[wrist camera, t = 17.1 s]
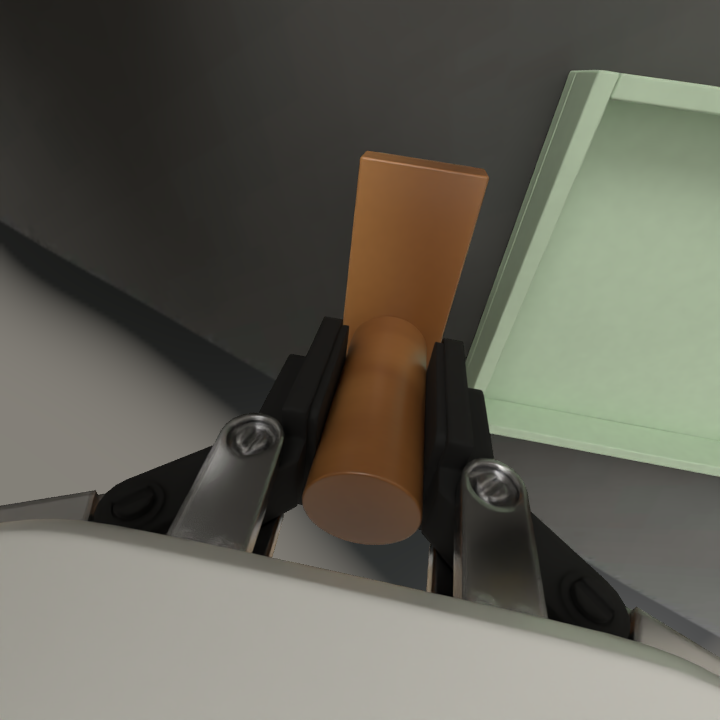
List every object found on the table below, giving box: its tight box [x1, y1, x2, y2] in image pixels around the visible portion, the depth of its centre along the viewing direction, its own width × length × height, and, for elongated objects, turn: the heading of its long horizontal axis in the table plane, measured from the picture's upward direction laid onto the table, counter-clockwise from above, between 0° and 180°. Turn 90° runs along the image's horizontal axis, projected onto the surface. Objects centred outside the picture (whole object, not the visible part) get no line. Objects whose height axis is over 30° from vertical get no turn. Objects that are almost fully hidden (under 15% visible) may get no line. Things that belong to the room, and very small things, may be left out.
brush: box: [302, 151, 489, 545], centre depth 11 cm, size 3×11×8 cm, turn 173°
